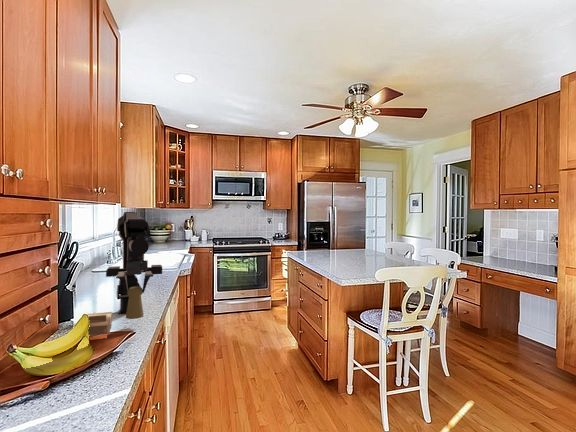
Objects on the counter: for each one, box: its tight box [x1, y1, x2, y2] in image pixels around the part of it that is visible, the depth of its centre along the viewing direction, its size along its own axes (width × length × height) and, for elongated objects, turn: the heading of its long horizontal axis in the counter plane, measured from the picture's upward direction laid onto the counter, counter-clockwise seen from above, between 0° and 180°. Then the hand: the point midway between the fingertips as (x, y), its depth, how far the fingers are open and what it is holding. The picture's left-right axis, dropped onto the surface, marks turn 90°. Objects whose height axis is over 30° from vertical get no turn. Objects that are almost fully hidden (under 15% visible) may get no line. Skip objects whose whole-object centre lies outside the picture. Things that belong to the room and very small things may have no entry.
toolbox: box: [89, 315, 113, 337], centre depth 113 cm, size 12×8×4 cm, turn 22°
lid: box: [86, 311, 113, 327], centre depth 113 cm, size 12×8×3 cm, turn 22°
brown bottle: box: [125, 286, 144, 320], centre depth 119 cm, size 6×6×11 cm
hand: (135, 293), depth 119 cm, fingers closed on brown bottle, 5 cm apart
